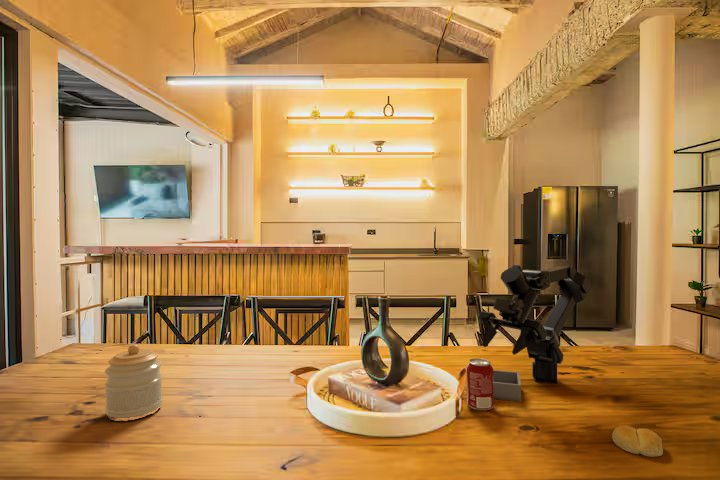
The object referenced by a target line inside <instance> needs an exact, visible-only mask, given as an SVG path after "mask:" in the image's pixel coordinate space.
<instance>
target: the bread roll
mask: <svg viewBox="0 0 720 480" xmlns="http://www.w3.org/2000/svg"><path fill="white" fill-rule="evenodd" d="M611 435H612V436H611V437H612V441H613V442H614V444H615V445H616V446H617V447H619V448H620V449H621V450H624V451H626V452H629V453H632V454H635V455H639V454H641V455H642V456H645V457H650V458H656V457H662V455H664V448H663V441H662V440H663V439H662V438H661V437H660V436H659V435H658V434H657V433H656V432H654V431H653V430H651V429H648V428H643V427H642V428H641V427H640V428H634V427H633V426H630V425H626V424H624V425H620V426H619V425H618V426H617V427H616V428H614V430H613V432H612V434H611Z"/></svg>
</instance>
